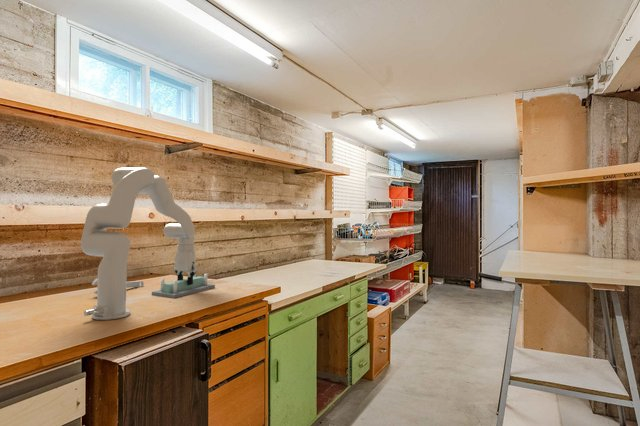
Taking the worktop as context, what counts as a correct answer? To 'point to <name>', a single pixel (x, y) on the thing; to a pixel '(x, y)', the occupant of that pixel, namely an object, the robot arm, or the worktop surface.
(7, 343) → the worktop surface
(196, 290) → the stand
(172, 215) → the robot arm
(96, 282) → the wrench
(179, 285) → the bar
